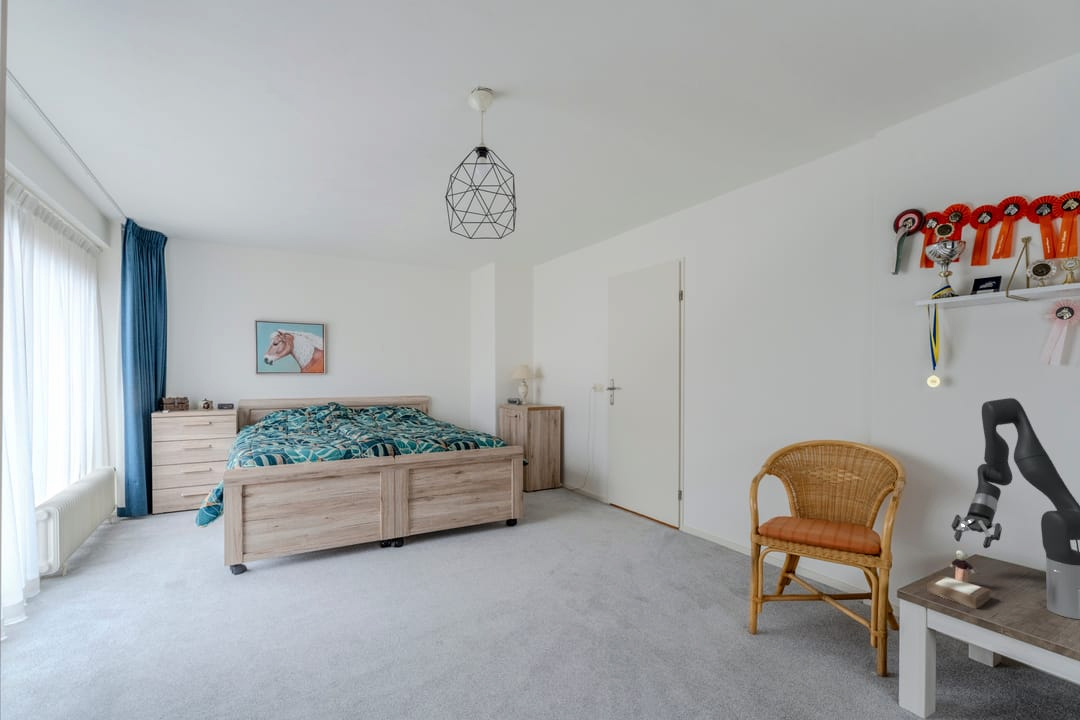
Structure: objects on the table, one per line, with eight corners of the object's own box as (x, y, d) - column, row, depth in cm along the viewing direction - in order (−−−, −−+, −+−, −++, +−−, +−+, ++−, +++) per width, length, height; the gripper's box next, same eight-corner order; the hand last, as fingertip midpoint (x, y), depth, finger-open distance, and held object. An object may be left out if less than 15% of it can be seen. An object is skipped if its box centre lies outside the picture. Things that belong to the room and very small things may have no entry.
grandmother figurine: (947, 583, 193) (947, 549, 193) (951, 580, 195) (950, 546, 195) (974, 590, 186) (973, 555, 187) (977, 587, 189) (976, 552, 189)
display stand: (990, 599, 179) (989, 588, 179) (975, 608, 173) (975, 596, 173) (942, 585, 191) (942, 574, 191) (927, 593, 185) (926, 581, 185)
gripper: (957, 498, 206) (945, 532, 200) (1003, 506, 193) (991, 543, 187) (963, 509, 208) (951, 543, 202) (1009, 518, 196) (997, 555, 190)
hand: (970, 543), depth 195 cm, fingers open, 8 cm apart
